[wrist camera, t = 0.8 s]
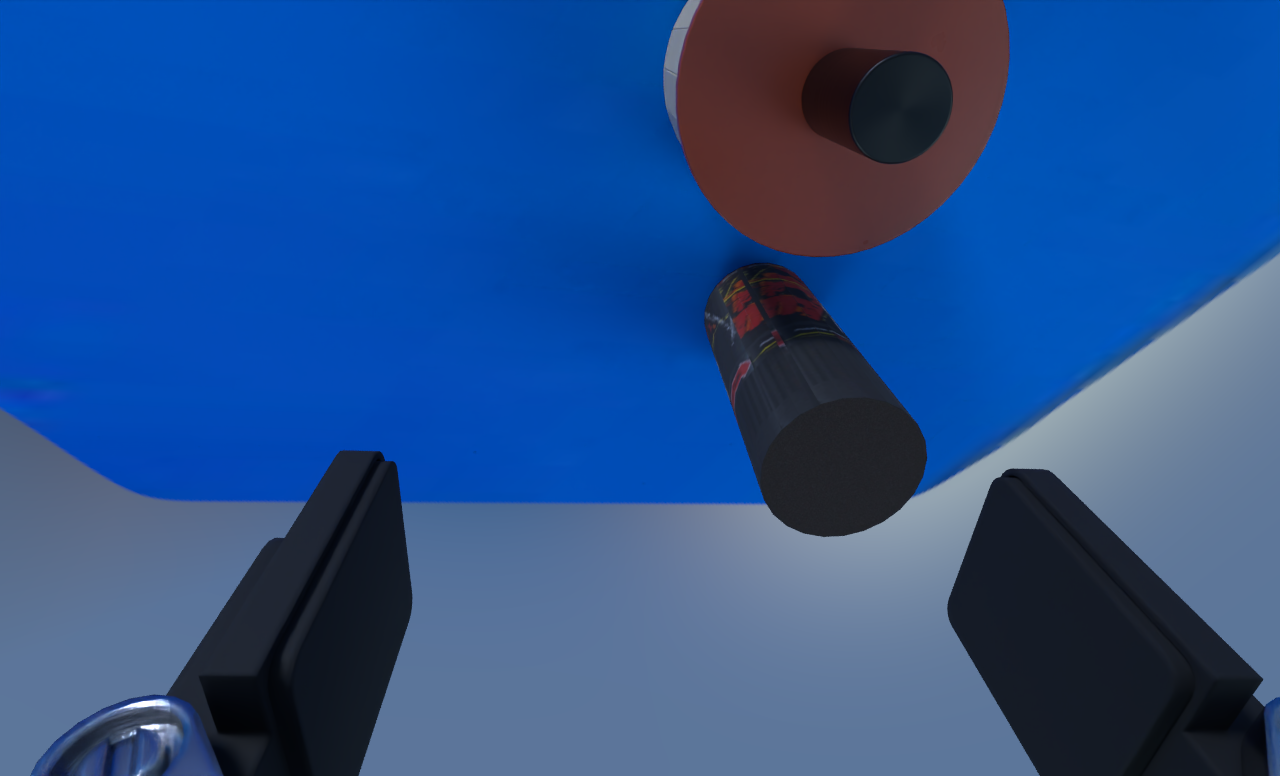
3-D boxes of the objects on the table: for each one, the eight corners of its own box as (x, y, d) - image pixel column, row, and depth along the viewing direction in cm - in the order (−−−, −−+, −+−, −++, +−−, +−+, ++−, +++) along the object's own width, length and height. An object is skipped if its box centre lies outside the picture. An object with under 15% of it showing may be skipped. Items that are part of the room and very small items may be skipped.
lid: (1018, -117, 21) (1164, -169, 16) (966, 234, 26) (1063, 288, 21) (664, -86, 21) (685, -128, 15) (681, 260, 26) (702, 321, 21)
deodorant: (833, 303, 37) (961, 453, 24) (762, 382, 39) (843, 560, 26) (752, 241, 35) (842, 365, 22) (682, 327, 38) (725, 488, 24)
